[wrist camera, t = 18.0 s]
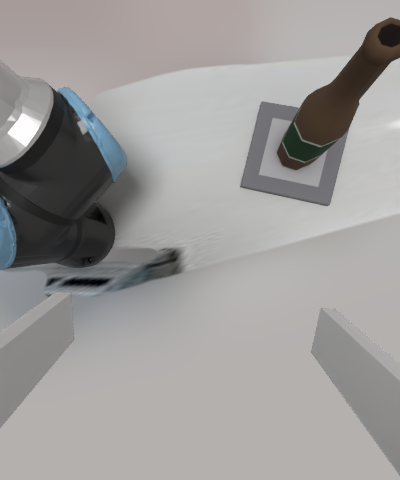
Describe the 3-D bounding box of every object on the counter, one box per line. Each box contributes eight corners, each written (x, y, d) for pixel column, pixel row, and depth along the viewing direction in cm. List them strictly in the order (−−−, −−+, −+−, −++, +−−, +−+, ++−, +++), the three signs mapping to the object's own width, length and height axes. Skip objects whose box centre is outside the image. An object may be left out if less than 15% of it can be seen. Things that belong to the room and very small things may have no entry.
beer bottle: (323, 151, 42) (462, 27, 18) (295, 179, 42) (393, 95, 18) (295, 125, 42) (391, -28, 18) (267, 153, 43) (326, 39, 19)
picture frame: (240, 187, 44) (240, 185, 43) (260, 104, 44) (261, 101, 43) (327, 205, 43) (330, 204, 41) (348, 120, 42) (352, 116, 41)
